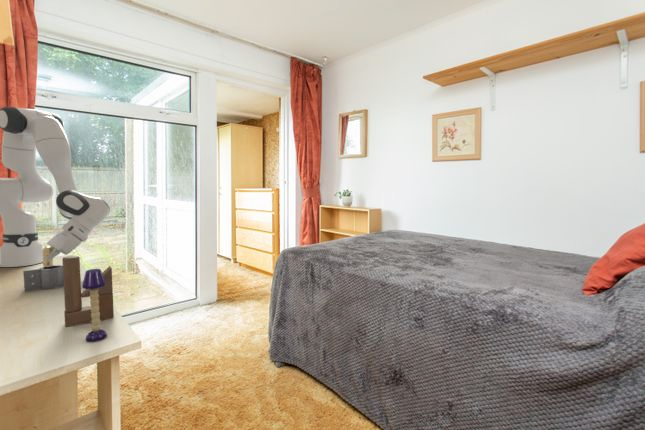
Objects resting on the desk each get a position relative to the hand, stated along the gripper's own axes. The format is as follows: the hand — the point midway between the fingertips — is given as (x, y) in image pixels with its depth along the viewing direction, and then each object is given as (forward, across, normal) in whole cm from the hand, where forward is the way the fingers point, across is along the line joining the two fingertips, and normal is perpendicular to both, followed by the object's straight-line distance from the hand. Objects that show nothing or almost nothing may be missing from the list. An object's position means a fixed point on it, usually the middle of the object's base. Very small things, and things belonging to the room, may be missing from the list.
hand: (45, 258), depth 130 cm
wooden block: (+6, +60, +4) cm, 61 cm away
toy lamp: (+8, +73, +3) cm, 74 cm away
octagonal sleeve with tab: (+6, +15, +4) cm, 17 cm away
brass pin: (+4, 0, +5) cm, 6 cm away
